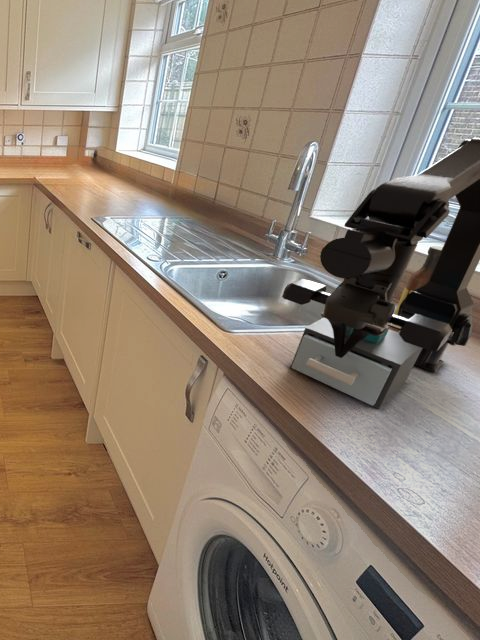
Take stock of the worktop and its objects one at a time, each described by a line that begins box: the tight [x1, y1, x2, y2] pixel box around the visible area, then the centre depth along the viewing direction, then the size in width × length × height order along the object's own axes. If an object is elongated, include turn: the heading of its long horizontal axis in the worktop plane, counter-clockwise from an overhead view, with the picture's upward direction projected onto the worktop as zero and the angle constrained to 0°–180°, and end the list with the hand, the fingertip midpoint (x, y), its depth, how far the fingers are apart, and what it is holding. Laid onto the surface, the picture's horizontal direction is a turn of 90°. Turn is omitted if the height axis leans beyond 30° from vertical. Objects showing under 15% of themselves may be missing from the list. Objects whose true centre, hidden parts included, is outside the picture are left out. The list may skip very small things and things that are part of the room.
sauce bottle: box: [390, 245, 443, 333], centre depth 86 cm, size 7×6×20 cm
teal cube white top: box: [350, 328, 388, 344], centre depth 71 cm, size 4×4×4 cm
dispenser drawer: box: [291, 334, 392, 407], centre depth 71 cm, size 17×11×7 cm
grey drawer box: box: [290, 317, 422, 410], centre depth 73 cm, size 14×13×9 cm
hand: (339, 356), depth 67 cm, fingers closed
